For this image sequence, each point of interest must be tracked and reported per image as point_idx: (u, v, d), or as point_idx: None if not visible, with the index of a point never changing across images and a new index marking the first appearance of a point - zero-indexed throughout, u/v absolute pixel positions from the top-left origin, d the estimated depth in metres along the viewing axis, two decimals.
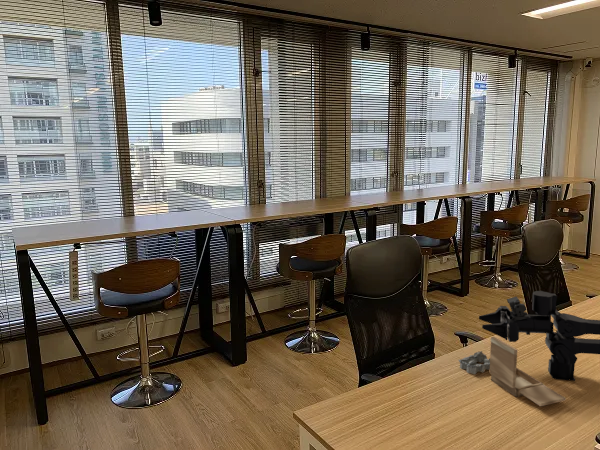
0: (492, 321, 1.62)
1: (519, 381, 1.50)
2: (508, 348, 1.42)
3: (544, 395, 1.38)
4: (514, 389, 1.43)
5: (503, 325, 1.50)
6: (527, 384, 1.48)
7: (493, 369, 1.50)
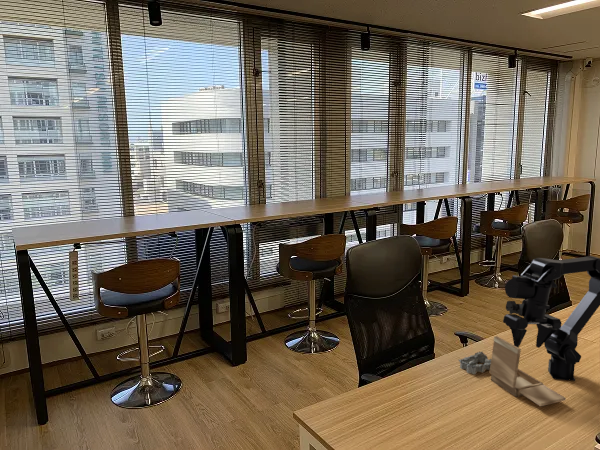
0: (545, 336, 1.49)
1: (519, 381, 1.50)
2: (511, 347, 1.43)
3: (544, 395, 1.38)
4: (514, 389, 1.43)
5: (511, 327, 1.47)
6: (527, 384, 1.48)
7: (493, 368, 1.50)
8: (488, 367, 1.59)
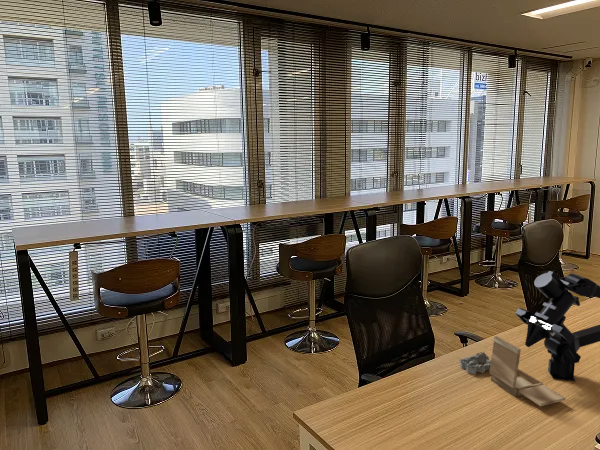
0: None
1: (519, 381, 1.50)
2: (511, 347, 1.43)
3: (544, 395, 1.38)
4: (514, 389, 1.43)
5: None
6: (527, 384, 1.48)
7: (493, 368, 1.50)
8: (488, 368, 1.59)
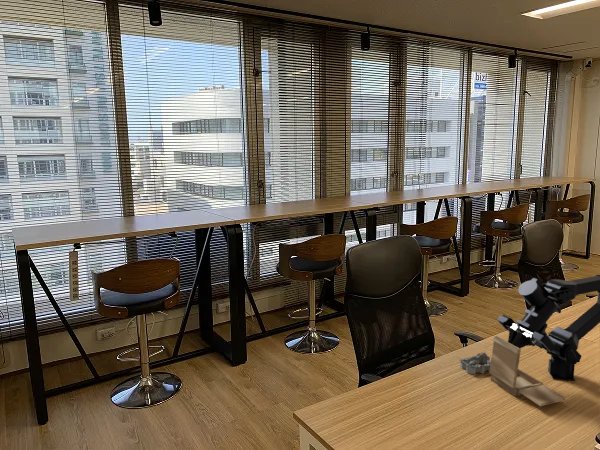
0: None
1: (519, 381, 1.50)
2: (511, 347, 1.43)
3: (544, 395, 1.38)
4: (514, 389, 1.43)
5: None
6: (527, 384, 1.48)
7: (493, 368, 1.50)
8: (489, 368, 1.59)
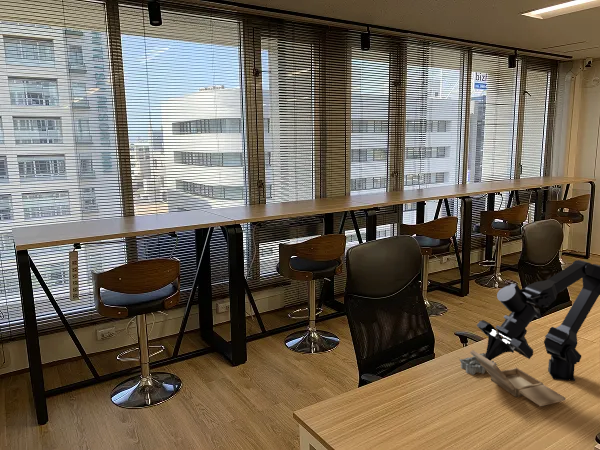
0: None
1: (519, 381, 1.50)
2: (487, 363, 1.41)
3: (544, 395, 1.38)
4: (514, 389, 1.43)
5: None
6: (527, 384, 1.48)
7: (490, 373, 1.49)
8: None
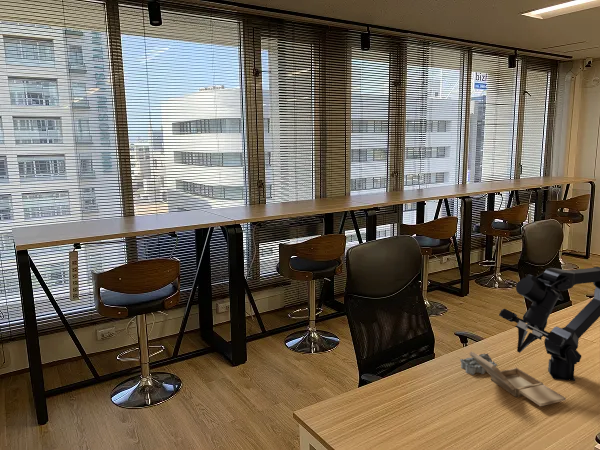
0: None
1: (519, 381, 1.50)
2: (486, 365, 1.41)
3: (544, 395, 1.38)
4: (514, 389, 1.43)
5: None
6: (527, 384, 1.48)
7: (490, 373, 1.49)
8: None
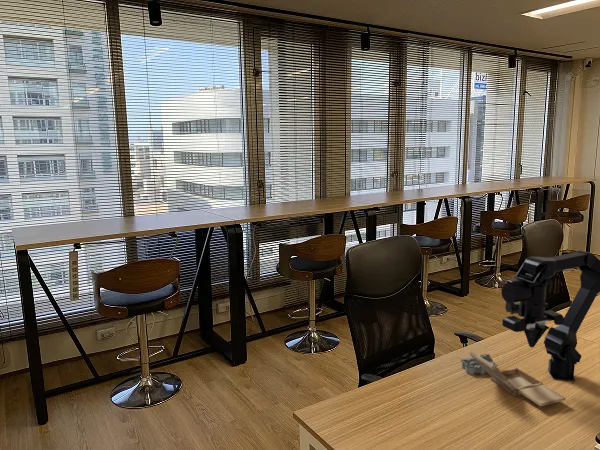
0: (537, 335, 1.47)
1: (519, 381, 1.50)
2: (486, 365, 1.41)
3: (544, 395, 1.38)
4: (514, 389, 1.43)
5: None
6: (527, 384, 1.48)
7: (490, 373, 1.49)
8: None
